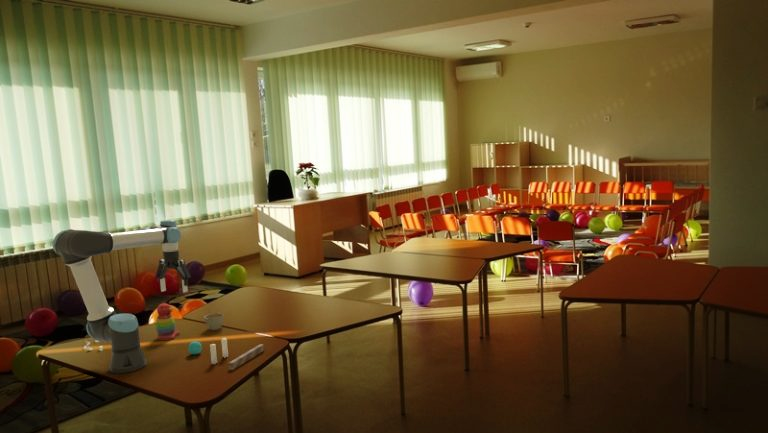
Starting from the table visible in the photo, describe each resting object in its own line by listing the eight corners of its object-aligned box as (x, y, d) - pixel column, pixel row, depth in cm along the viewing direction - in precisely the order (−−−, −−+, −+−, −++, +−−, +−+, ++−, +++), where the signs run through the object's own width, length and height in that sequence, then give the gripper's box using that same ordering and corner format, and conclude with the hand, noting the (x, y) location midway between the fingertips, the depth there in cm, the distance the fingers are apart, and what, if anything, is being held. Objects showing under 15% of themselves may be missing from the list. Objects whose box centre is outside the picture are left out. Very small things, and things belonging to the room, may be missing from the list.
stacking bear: (173, 340, 296) (169, 306, 294) (153, 341, 296) (149, 307, 294) (181, 333, 306) (177, 300, 304) (162, 334, 307) (158, 301, 305)
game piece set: (114, 336, 309) (113, 329, 308) (133, 343, 296) (132, 335, 296) (76, 348, 294) (75, 340, 293) (94, 355, 281) (93, 347, 281)
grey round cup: (204, 328, 313) (202, 315, 312) (223, 324, 317) (221, 312, 316) (206, 333, 304) (205, 319, 303) (226, 329, 308) (225, 316, 307)
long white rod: (232, 370, 249) (232, 363, 249) (229, 369, 250) (228, 362, 249) (264, 350, 271) (263, 344, 271) (260, 350, 272) (259, 344, 271)
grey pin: (215, 364, 257) (213, 345, 256) (210, 364, 258) (208, 345, 257) (218, 362, 259) (216, 344, 258) (214, 362, 260) (212, 343, 259)
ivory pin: (226, 357, 264) (224, 339, 263) (221, 357, 265) (220, 339, 264) (229, 356, 267) (227, 338, 266) (225, 355, 268) (223, 337, 267)
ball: (196, 356, 268) (195, 344, 268) (186, 355, 271) (184, 343, 270) (205, 352, 274) (203, 339, 273) (194, 351, 276) (193, 339, 276)
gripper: (195, 249, 294) (199, 290, 296) (156, 249, 302) (159, 289, 304) (186, 251, 287) (189, 294, 289) (145, 251, 295) (149, 292, 297)
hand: (174, 291), depth 297 cm, fingers open, 13 cm apart
